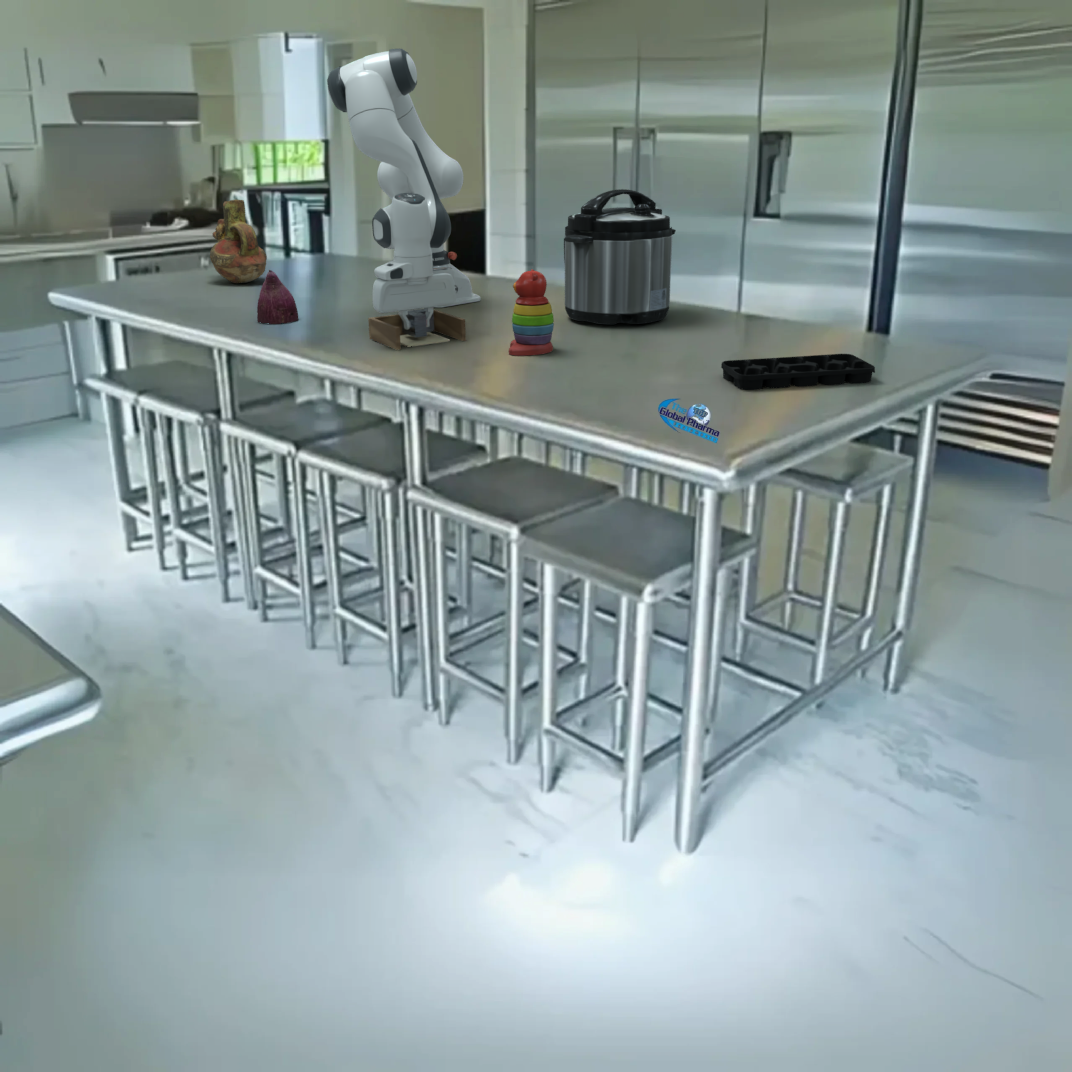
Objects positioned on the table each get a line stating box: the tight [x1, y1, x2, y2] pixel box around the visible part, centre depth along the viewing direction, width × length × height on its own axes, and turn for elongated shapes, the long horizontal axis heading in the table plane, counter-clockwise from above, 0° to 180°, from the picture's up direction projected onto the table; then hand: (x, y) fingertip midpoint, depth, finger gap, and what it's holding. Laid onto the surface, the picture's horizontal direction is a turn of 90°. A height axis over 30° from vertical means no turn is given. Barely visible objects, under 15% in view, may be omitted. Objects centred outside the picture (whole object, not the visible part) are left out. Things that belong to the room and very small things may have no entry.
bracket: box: [402, 308, 435, 337], centre depth 253 cm, size 7×7×5 cm
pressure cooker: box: [563, 188, 676, 325], centre depth 271 cm, size 30×28×32 cm
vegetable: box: [256, 269, 299, 325], centre depth 275 cm, size 10×10×15 cm
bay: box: [367, 309, 467, 351], centre depth 254 cm, size 18×15×5 cm
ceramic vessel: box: [209, 199, 268, 284], centre depth 333 cm, size 17×26×25 cm, turn 43°
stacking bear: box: [508, 269, 555, 357], centre depth 239 cm, size 11×10×18 cm
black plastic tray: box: [720, 353, 876, 391], centre depth 215 cm, size 18×30×4 cm, turn 113°
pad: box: [400, 332, 451, 348], centre depth 254 cm, size 11×11×1 cm
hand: (416, 327), depth 252 cm, fingers closed on bracket, 3 cm apart
